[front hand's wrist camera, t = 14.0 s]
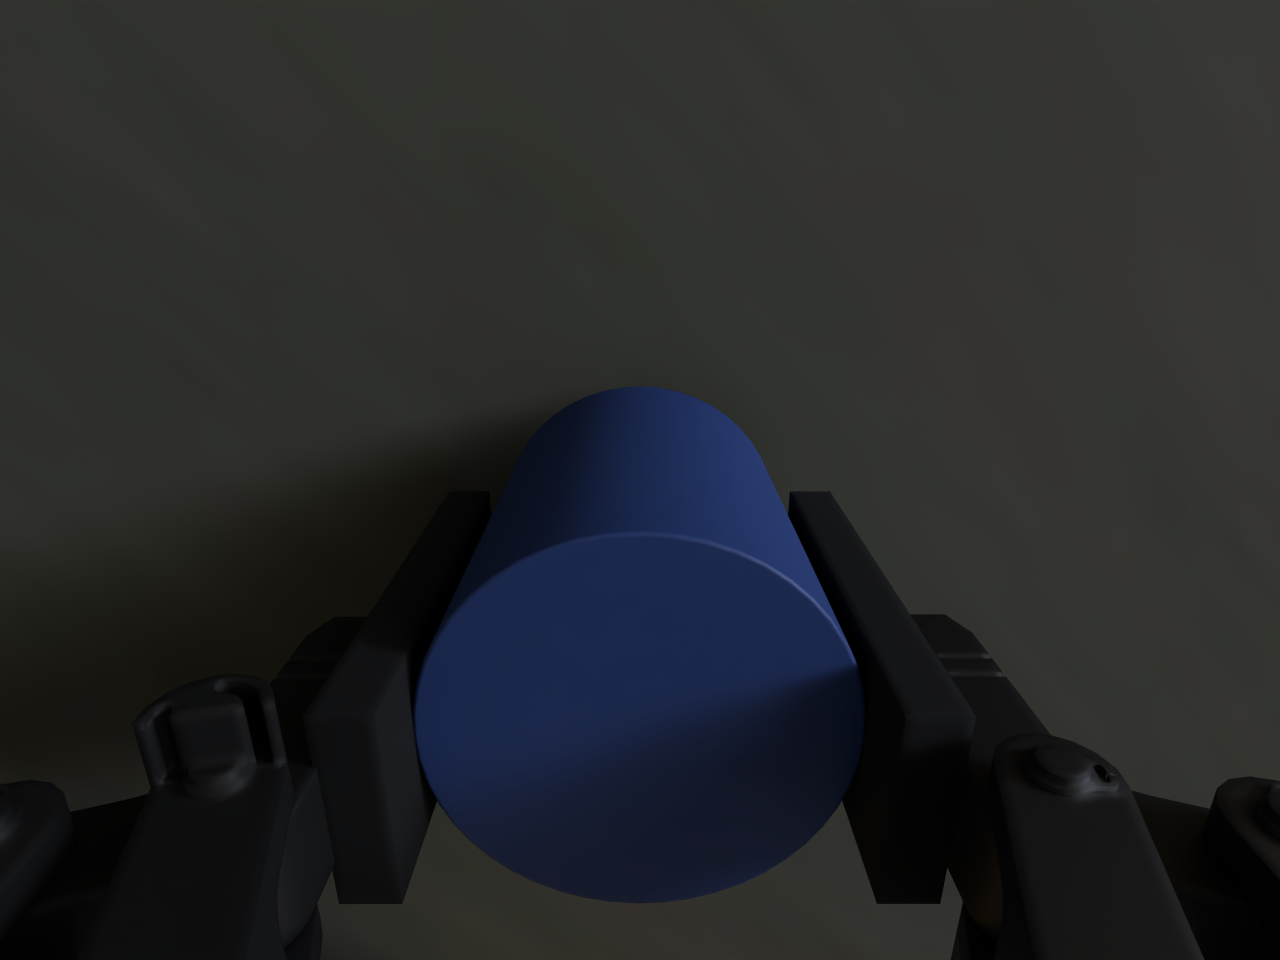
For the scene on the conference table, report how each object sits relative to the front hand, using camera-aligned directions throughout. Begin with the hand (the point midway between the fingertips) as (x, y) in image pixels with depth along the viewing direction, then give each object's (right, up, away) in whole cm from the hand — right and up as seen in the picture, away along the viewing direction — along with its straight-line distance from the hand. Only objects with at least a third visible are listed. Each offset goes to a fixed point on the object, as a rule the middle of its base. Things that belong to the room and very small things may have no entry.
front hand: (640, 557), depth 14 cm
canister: (0, +1, +1) cm, 2 cm away
